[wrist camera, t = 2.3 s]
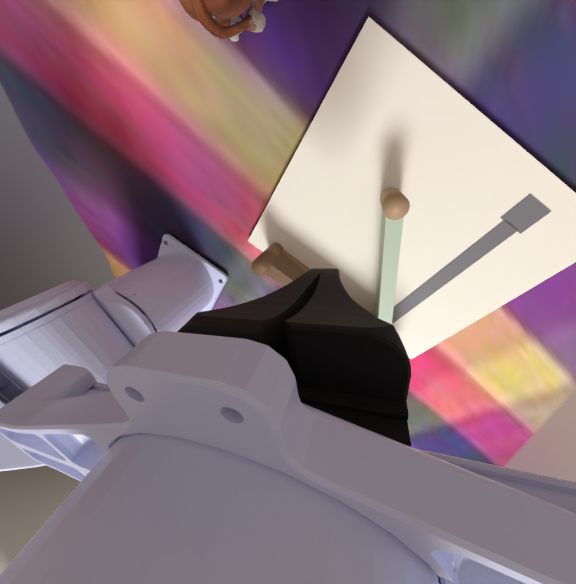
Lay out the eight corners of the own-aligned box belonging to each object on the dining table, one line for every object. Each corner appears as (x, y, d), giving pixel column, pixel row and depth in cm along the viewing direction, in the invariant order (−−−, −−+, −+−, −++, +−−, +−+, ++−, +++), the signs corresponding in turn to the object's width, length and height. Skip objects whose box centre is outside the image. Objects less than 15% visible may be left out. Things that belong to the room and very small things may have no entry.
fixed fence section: (365, 323, 22) (366, 352, 19) (266, 251, 22) (248, 268, 18) (376, 314, 22) (378, 343, 18) (273, 239, 21) (256, 255, 17)
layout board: (410, 355, 24) (411, 359, 23) (249, 239, 22) (247, 241, 22) (615, 231, 15) (624, 233, 14) (368, 21, 13) (368, 15, 13)
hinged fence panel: (388, 334, 22) (392, 362, 19) (370, 332, 23) (371, 360, 20) (403, 186, 16) (413, 193, 13) (379, 188, 16) (382, 196, 13)
